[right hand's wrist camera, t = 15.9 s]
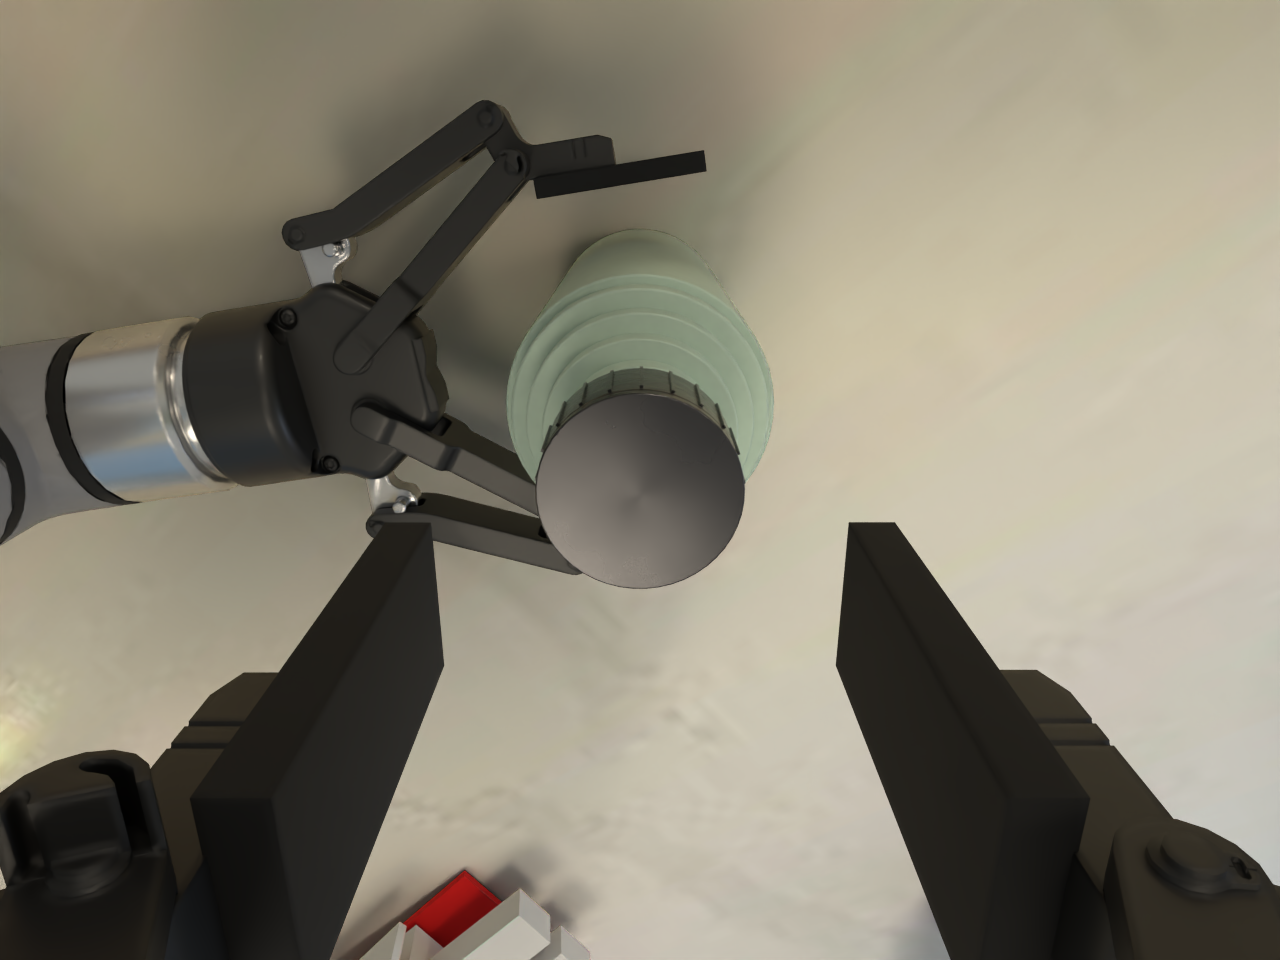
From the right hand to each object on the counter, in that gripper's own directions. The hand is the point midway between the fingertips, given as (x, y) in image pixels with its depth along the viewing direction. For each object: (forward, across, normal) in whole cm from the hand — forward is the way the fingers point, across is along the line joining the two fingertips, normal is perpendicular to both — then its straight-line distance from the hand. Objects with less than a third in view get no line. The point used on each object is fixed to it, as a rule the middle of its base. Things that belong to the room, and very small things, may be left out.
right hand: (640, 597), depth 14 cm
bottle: (+29, 0, 0) cm, 29 cm away
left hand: (+23, -4, 0) cm, 23 cm away
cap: (+5, 0, 0) cm, 5 cm away
